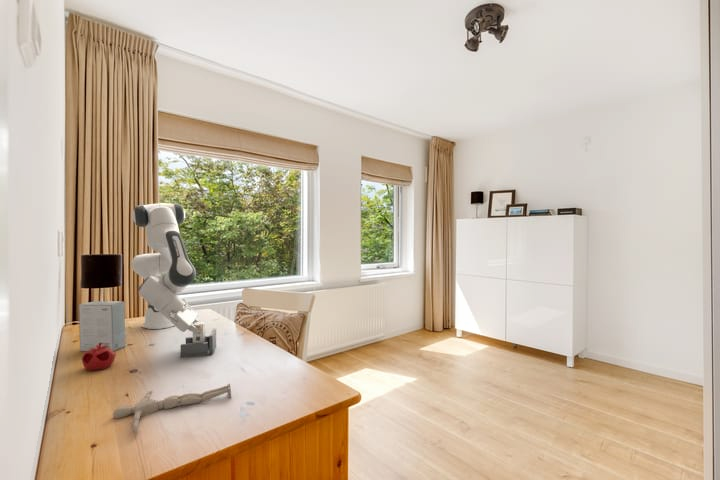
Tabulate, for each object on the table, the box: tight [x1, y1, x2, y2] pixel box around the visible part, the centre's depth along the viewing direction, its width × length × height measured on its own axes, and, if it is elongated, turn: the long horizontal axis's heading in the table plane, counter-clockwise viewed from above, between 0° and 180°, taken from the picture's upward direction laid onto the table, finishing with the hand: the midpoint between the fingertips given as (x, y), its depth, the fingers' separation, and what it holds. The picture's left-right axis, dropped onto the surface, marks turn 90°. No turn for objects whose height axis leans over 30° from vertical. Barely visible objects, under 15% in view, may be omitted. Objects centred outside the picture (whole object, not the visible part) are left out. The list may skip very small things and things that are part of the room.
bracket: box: [179, 328, 217, 358], centre depth 147 cm, size 11×12×8 cm
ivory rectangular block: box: [192, 321, 206, 343], centre depth 147 cm, size 5×4×11 cm
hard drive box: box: [78, 300, 127, 352], centre depth 152 cm, size 16×8×20 cm, turn 84°
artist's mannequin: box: [112, 383, 232, 435], centre depth 101 cm, size 28×4×30 cm
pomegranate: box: [81, 342, 116, 371], centre depth 131 cm, size 10×10×9 cm
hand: (200, 330), depth 147 cm, fingers open, 6 cm apart
